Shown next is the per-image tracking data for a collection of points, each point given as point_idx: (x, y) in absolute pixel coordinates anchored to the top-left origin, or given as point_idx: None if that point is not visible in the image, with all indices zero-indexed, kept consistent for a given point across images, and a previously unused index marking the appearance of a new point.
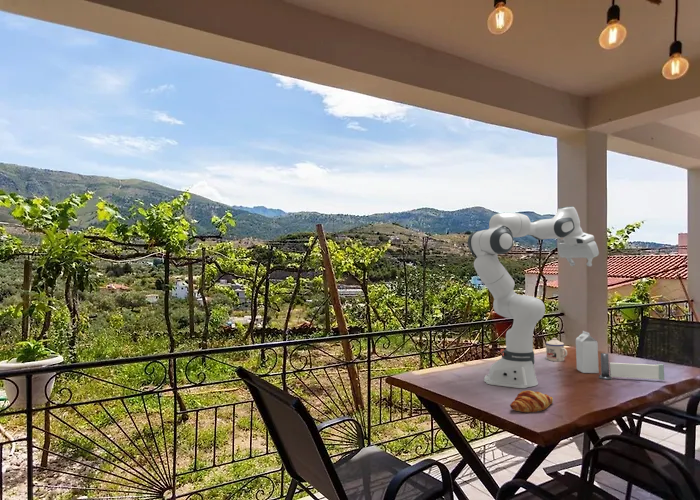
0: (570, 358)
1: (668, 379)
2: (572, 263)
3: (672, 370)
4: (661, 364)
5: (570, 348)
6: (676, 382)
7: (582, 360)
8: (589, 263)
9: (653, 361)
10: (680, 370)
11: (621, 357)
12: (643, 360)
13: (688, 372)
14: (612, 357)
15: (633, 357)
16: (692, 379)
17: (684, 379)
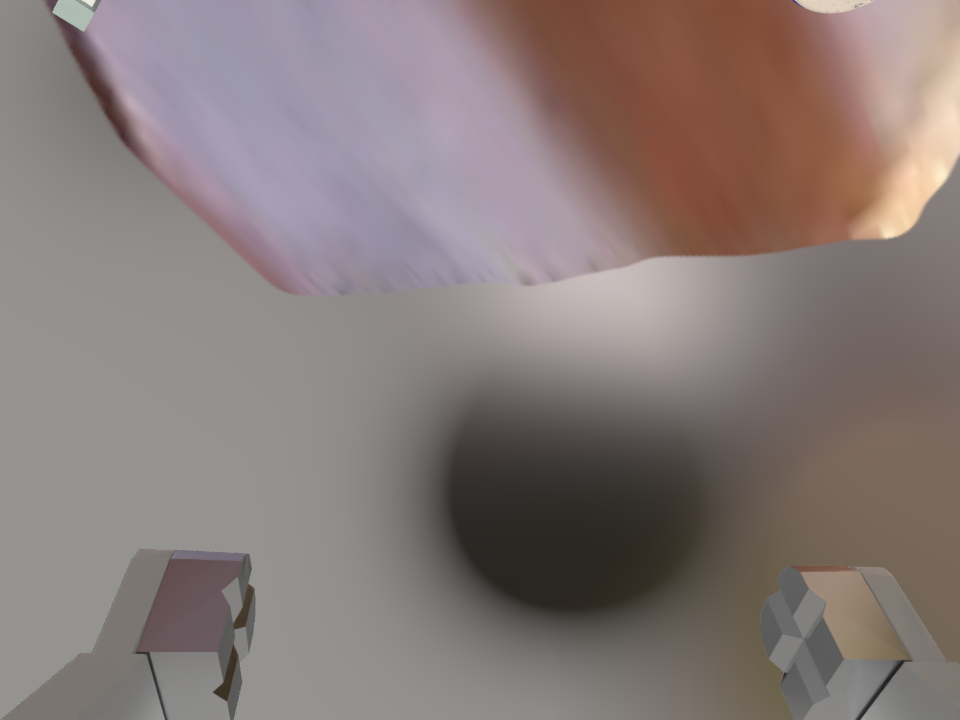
0: (743, 14)
1: (138, 37)
2: (827, 637)
3: (282, 206)
4: (72, 17)
5: (839, 221)
6: None
7: None
8: (109, 646)
9: (434, 278)
10: (271, 230)
11: (560, 244)
12: (468, 265)
13: (232, 225)
14: (587, 215)
15: (527, 279)
16: (117, 132)
17: (124, 103)
